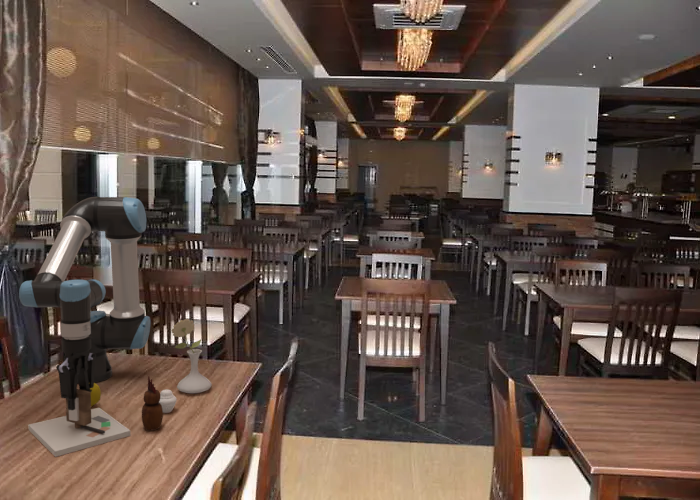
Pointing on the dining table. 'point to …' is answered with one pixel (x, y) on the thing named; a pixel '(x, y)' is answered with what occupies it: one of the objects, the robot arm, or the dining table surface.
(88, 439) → the dial board
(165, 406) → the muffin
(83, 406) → the dark wooden block
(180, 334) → the flower in vase
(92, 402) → the lemon
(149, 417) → the wooden figurine
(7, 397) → the dining table surface
